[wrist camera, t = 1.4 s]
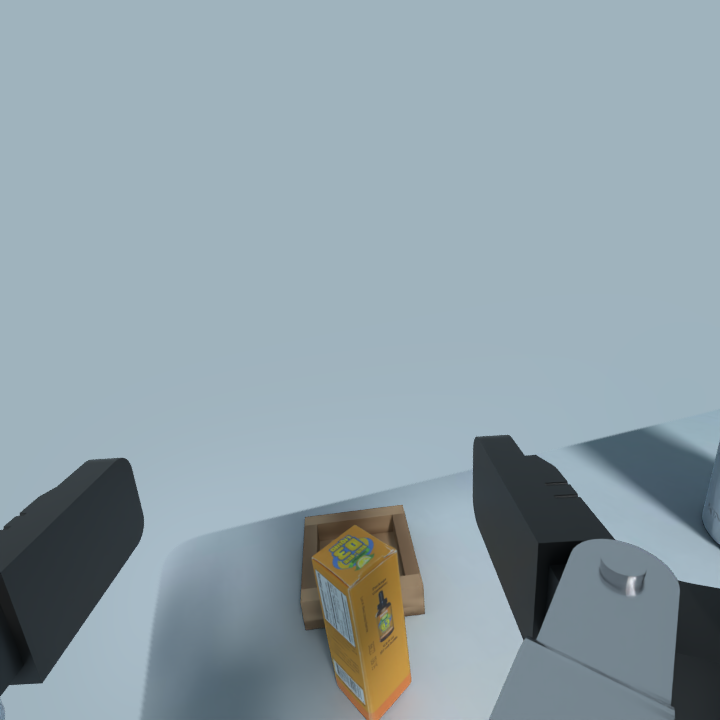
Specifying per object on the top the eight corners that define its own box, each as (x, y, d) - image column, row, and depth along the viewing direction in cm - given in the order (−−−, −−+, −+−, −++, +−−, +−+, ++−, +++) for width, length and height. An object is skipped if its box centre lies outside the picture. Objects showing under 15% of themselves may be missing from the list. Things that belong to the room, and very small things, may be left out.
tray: (404, 528, 37) (402, 504, 36) (424, 613, 29) (423, 586, 29) (309, 541, 37) (305, 517, 36) (305, 630, 29) (300, 602, 28)
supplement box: (372, 644, 28) (357, 518, 24) (413, 684, 25) (404, 550, 22) (331, 684, 26) (308, 552, 22) (371, 731, 23) (353, 592, 20)
